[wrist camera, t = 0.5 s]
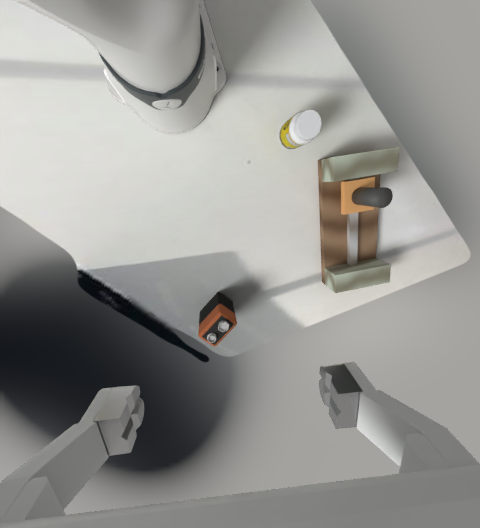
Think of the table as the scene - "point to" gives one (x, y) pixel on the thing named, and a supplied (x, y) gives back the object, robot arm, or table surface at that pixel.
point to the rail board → (351, 222)
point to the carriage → (363, 196)
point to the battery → (216, 319)
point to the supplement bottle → (300, 129)
